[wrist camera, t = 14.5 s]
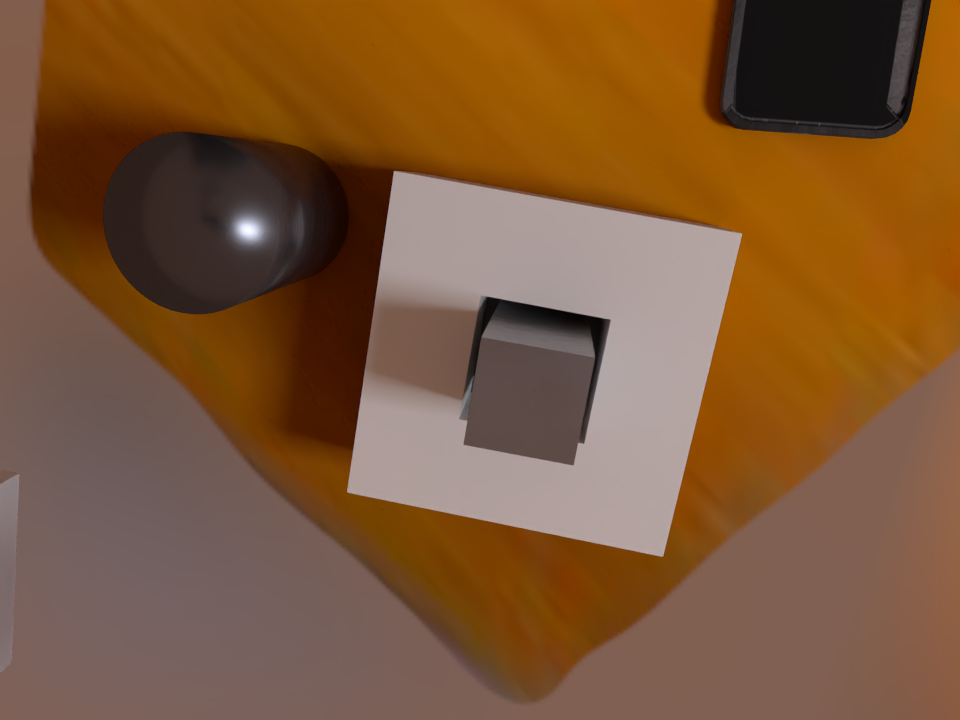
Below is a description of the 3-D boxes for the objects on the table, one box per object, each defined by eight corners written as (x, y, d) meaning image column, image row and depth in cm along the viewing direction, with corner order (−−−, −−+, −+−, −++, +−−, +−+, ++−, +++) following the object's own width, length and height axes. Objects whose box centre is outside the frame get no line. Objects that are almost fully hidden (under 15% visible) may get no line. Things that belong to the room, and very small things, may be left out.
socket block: (415, 171, 38) (394, 170, 33) (718, 226, 37) (742, 233, 32) (372, 455, 41) (347, 492, 36) (650, 511, 40) (662, 556, 35)
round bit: (223, 132, 38) (109, 117, 29) (357, 156, 38) (287, 149, 28) (211, 267, 40) (97, 296, 30) (339, 292, 40) (266, 329, 30)
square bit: (502, 297, 38) (481, 336, 29) (587, 312, 38) (595, 357, 28) (487, 378, 39) (463, 444, 30) (570, 394, 39) (573, 465, 29)
